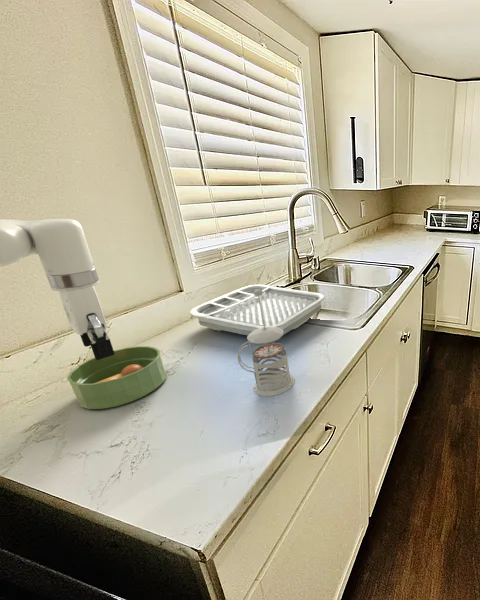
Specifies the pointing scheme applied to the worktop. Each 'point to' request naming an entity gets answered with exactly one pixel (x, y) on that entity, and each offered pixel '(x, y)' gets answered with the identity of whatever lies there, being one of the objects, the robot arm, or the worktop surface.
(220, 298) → the dish rack
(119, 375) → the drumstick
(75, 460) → the worktop surface
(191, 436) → the worktop surface
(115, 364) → the green shallow bowl
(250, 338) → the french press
